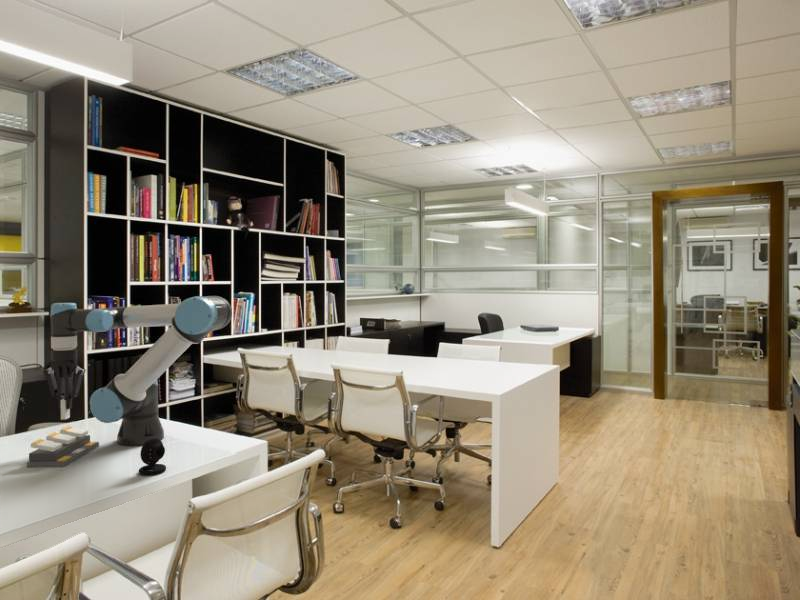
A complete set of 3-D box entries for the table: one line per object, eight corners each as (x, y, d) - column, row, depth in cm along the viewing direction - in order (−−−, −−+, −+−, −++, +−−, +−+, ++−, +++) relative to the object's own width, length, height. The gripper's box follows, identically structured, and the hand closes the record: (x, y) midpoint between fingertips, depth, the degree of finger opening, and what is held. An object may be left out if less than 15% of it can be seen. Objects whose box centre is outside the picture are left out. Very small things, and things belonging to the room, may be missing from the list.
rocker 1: (61, 447, 174) (62, 443, 174) (53, 451, 170) (54, 447, 170) (39, 443, 174) (40, 438, 174) (30, 447, 170) (31, 442, 170)
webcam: (152, 477, 160) (151, 443, 160) (132, 474, 163) (131, 440, 162) (172, 469, 167) (171, 436, 167) (152, 466, 170) (152, 433, 169)
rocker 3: (87, 433, 190) (88, 430, 190) (80, 437, 185) (81, 433, 185) (67, 429, 189) (68, 426, 189) (59, 433, 185) (60, 429, 185)
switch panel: (99, 446, 190) (98, 434, 190) (63, 466, 169) (63, 453, 169) (66, 446, 190) (66, 435, 190) (27, 467, 169) (26, 454, 169)
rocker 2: (75, 440, 182) (76, 436, 182) (67, 444, 177) (68, 440, 177) (53, 436, 182) (54, 432, 182) (45, 440, 177) (46, 435, 177)
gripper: (89, 347, 190) (90, 415, 191) (51, 347, 190) (52, 415, 191) (77, 350, 183) (79, 421, 183) (37, 350, 182) (38, 421, 183)
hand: (65, 418), depth 187 cm, fingers closed
